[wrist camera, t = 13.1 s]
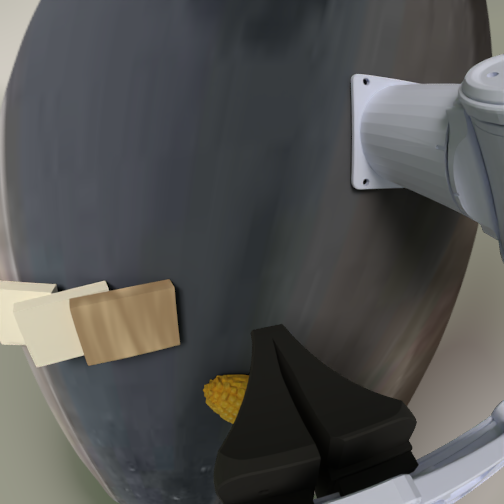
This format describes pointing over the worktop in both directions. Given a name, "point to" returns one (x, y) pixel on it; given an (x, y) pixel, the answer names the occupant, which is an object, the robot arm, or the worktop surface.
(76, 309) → the domino
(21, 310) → the domino
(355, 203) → the worktop surface
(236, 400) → the food
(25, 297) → the domino
